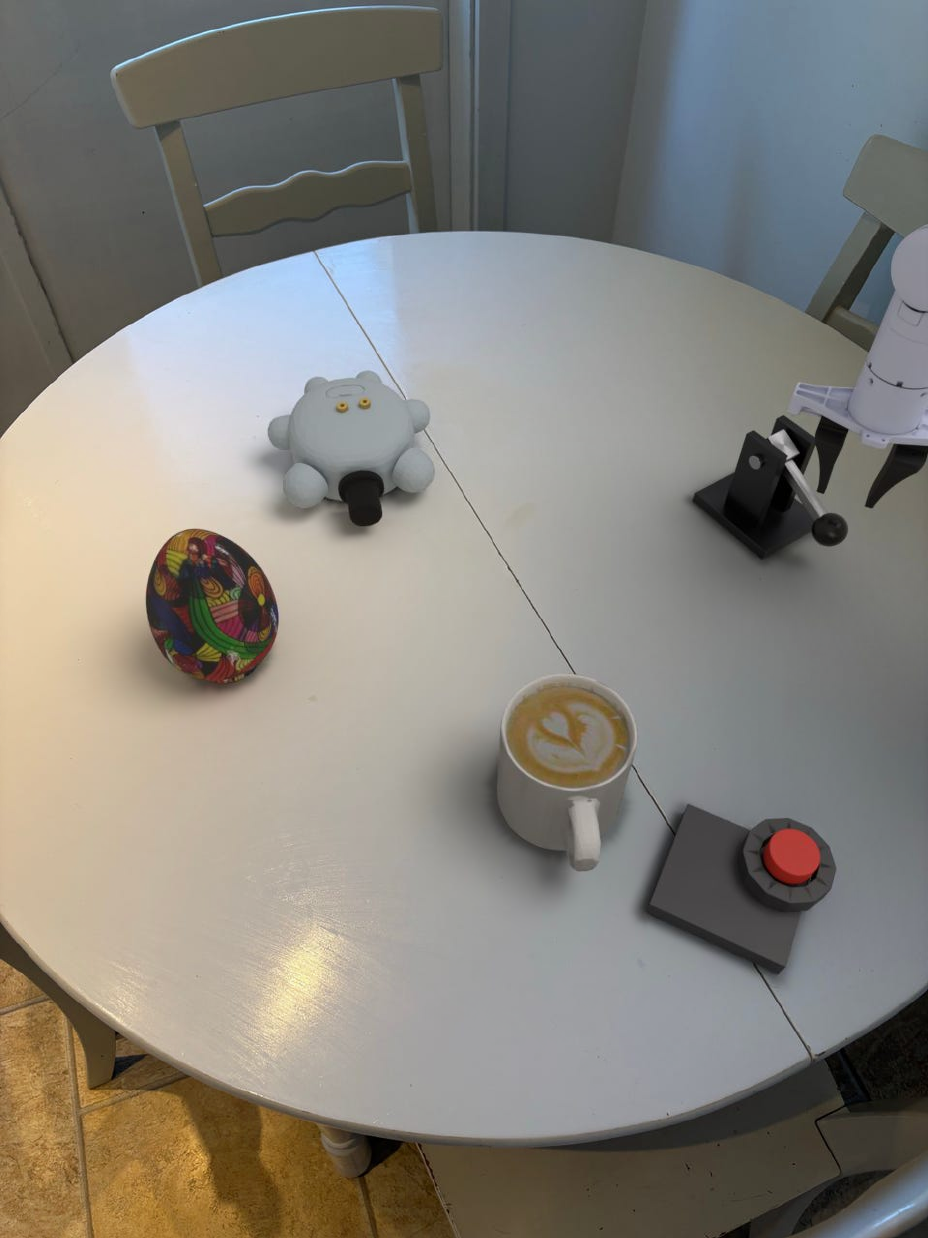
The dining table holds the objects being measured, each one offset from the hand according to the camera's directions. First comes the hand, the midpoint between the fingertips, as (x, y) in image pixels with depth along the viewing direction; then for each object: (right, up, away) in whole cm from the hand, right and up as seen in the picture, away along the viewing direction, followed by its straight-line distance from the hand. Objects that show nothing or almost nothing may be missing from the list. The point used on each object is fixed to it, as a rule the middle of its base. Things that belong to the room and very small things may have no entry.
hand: (846, 493), depth 80 cm
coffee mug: (-27, -27, -9) cm, 39 cm away
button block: (-15, -32, -13) cm, 37 cm away
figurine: (-46, +4, +16) cm, 49 cm away
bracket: (-5, -1, +12) cm, 12 cm away
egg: (-56, -15, +1) cm, 58 cm away
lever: (-3, 0, +6) cm, 6 cm away
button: (-11, -29, -15) cm, 34 cm away
